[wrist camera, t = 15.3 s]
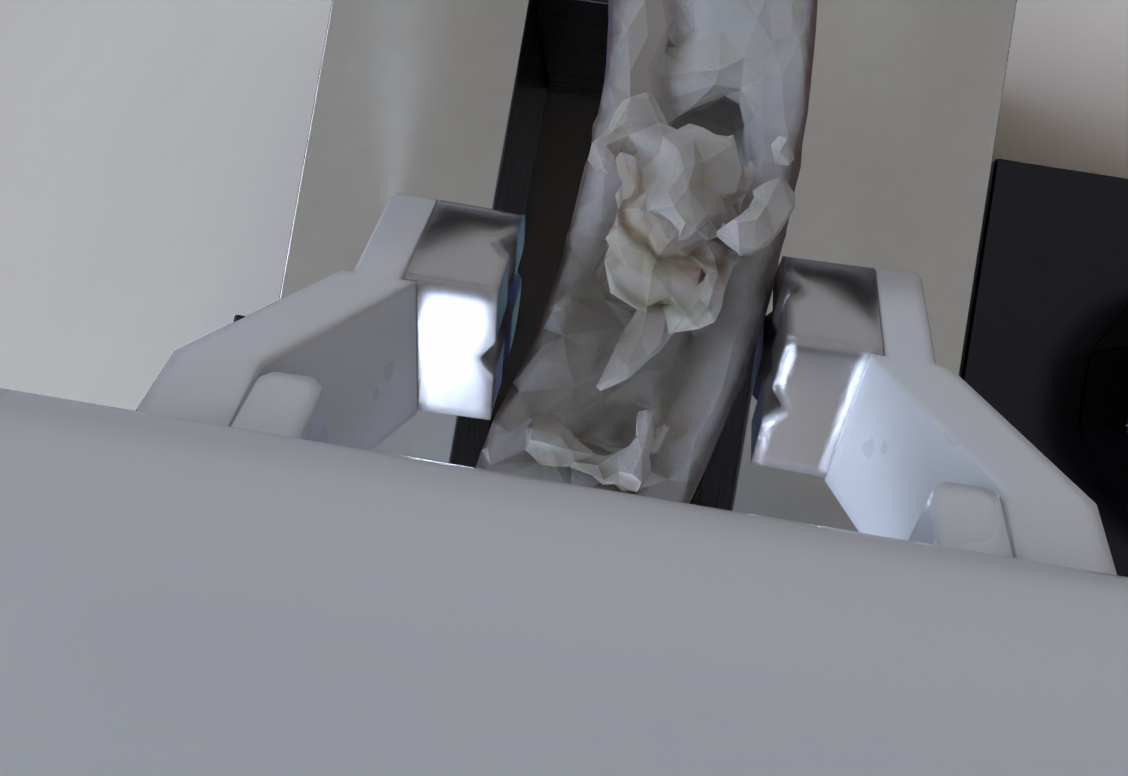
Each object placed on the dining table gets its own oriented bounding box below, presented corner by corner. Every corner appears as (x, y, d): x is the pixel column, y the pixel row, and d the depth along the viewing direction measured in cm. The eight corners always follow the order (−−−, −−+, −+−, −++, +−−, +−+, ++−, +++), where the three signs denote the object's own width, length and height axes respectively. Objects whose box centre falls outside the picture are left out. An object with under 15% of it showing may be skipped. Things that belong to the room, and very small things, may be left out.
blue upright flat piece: (625, 71, 21) (650, -311, 10) (771, 105, 21) (950, -248, 10) (509, 530, 21) (412, 622, 10) (658, 568, 21) (720, 702, 10)
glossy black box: (929, 37, 27) (1030, -85, 21) (830, 667, 26) (903, 741, 20) (363, -49, 27) (294, -192, 21) (255, 567, 27) (150, 608, 21)
